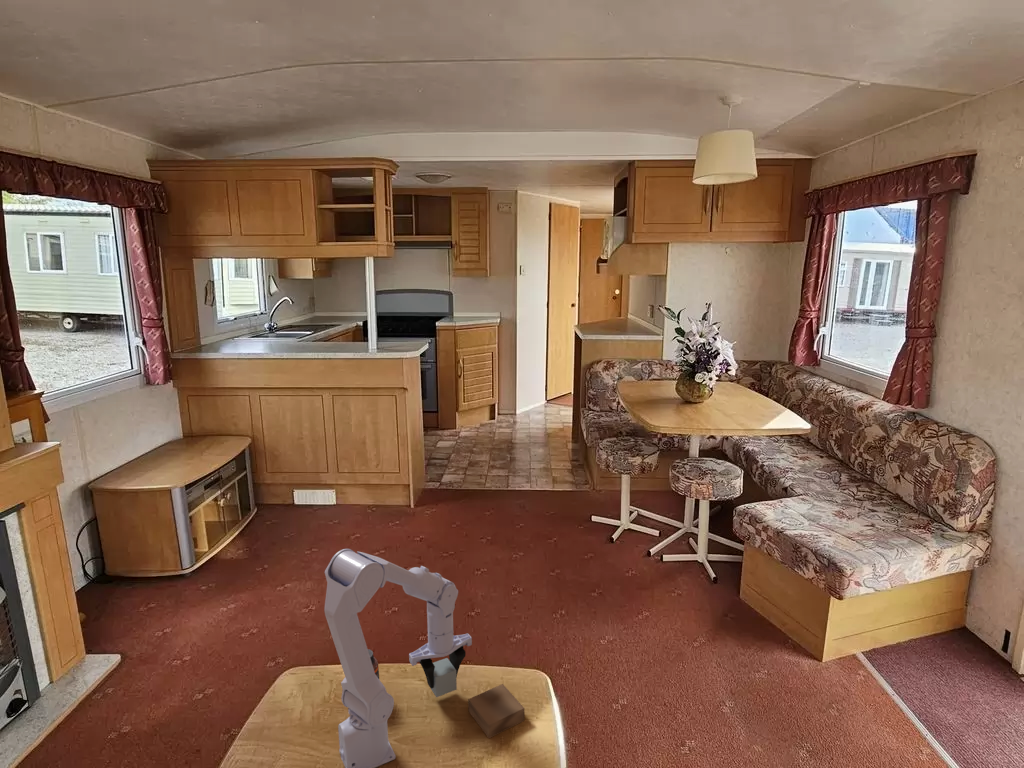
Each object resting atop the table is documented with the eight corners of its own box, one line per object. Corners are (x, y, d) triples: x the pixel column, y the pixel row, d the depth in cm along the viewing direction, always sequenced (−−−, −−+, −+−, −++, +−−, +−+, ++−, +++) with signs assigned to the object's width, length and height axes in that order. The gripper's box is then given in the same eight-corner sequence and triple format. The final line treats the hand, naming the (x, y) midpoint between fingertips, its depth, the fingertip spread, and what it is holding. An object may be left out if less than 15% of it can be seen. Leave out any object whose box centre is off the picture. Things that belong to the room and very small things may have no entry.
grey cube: (436, 697, 131) (435, 677, 130) (427, 684, 135) (427, 664, 134) (456, 689, 134) (456, 670, 133) (447, 676, 138) (447, 657, 137)
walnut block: (488, 739, 124) (488, 725, 123) (468, 712, 131) (468, 699, 130) (524, 721, 128) (524, 708, 128) (502, 697, 136) (502, 683, 135)
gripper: (462, 609, 138) (463, 660, 141) (403, 628, 131) (405, 681, 134) (475, 625, 132) (476, 678, 135) (414, 645, 125) (417, 701, 128)
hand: (442, 681), depth 134 cm, fingers closed on grey cube, 5 cm apart
